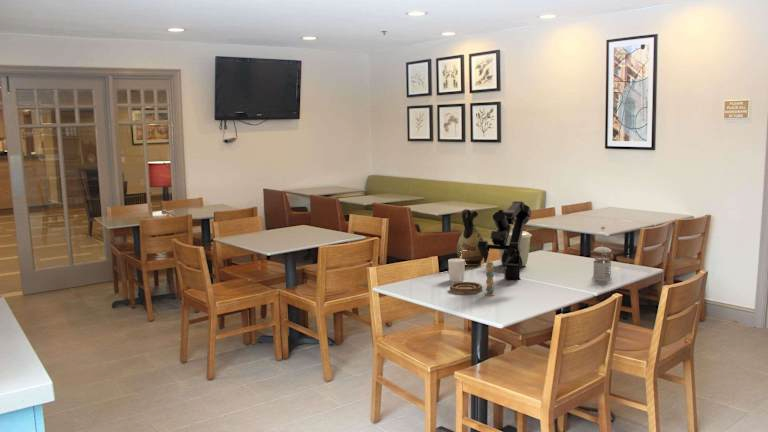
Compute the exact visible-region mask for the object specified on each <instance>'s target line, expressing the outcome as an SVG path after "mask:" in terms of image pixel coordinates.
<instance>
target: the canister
mask: <svg viewBox="0 0 768 432" xmlns="http://www.w3.org/2000/svg"><path fill="white" fill-rule="evenodd" d="M510 227H511V229H510V231H511V232H510V233H509V237H508V242H507V244H506V245H508V246H509V244H510V240H511V236H512V232H513V228H514V225H512V226H510ZM532 236H533V234H531V233H530V232H528V231H524V230H523V232H522V236H521V241H520V245H519V246H520V249H521V252H520V255H521V258H522V261H523V267H525V266H526V265H527V263H528V259H529V252H530V244H531V237H532ZM498 251H499V259H500V263H501V265H502V266H503V264H502V254H503V252H504V250H498Z"/></svg>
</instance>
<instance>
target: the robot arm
mask: <svg viewBox="0 0 768 432" xmlns="http://www.w3.org/2000/svg"><path fill="white" fill-rule="evenodd" d="M531 216H532V209H531V208H530V206H529V205H526V204H525V203H524V201H516V200H514V201H512V203H511V205H510V206H509V207H508V208H507V209H506V210H504V209H498V211H496V212H495V213H494V214H493V215H492V219H493V220H492V221H493V222H494V225H495V227H496V228H497V229H496V230H495V231H494V230H492V231H491V233H490V239H491V243H492V244H491V243H488V241H487V240H484V241H479V242H478V244H477V245H478V248H479V250H480V252H482V253H483V254H484V258H483V260H484V261H483V263H486V264H487V262H488V257H489V253H490V252H489V251H490V250H498V251H499V250H504V252H503V254H502V263H501V265H502V264H503V265H502V267H505V268H504V270H503V272H504V275H503V276H504V278H505V279H506V280H507V281H513V280H514V281H515V280H516V281H517V280H521V277H520V276H521V275H520V273H521V272H520V271H521V270H520V269H521V268H523V267H524V266H523V261H522V258H521V255H520V252H521V249H520V246H519V245H520V241H521V236H522V232H523V231H524V228H525V225H526V224H527V223H529V221H530V218H531ZM511 225H513V226H514V228H513V232H512V236H511V240H510V244H509V246H508V245H506V244H507V242H508V237H509V233H510V232H511V231H510V230H511V227H512V226H511Z"/></svg>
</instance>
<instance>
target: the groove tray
mask: <svg viewBox="0 0 768 432" xmlns="http://www.w3.org/2000/svg"><path fill="white" fill-rule="evenodd" d="M449 291H450V292H451V293H452V294H457V295H476V294H477V295H478V294H479V293H480V294H481V293H482V292H483V285H482V284H481V283H480V282H479V283H478V282H475V281H474V282H473V281H462V282H452V283H451V284H450V285H449Z"/></svg>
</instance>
